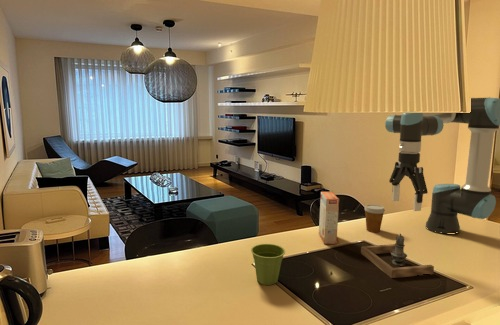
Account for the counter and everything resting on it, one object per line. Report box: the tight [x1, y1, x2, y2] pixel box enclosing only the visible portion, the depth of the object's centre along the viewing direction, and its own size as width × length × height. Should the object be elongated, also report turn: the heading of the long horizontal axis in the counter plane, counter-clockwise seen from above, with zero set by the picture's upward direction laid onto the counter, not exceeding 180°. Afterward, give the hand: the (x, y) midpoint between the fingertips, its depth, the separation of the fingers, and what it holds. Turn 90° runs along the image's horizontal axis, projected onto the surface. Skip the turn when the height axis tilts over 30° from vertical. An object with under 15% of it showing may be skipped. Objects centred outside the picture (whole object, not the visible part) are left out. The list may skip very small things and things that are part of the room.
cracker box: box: [318, 191, 340, 245], centre depth 164 cm, size 14×6×21 cm, turn 179°
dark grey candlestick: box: [390, 233, 408, 267], centre depth 140 cm, size 6×6×12 cm
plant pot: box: [250, 243, 286, 286], centre depth 125 cm, size 12×12×11 cm
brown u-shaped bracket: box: [360, 243, 435, 279], centre depth 141 cm, size 17×22×3 cm
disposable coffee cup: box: [364, 204, 386, 233], centre depth 177 cm, size 10×10×12 cm
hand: (405, 205), depth 142 cm, fingers open, 13 cm apart
